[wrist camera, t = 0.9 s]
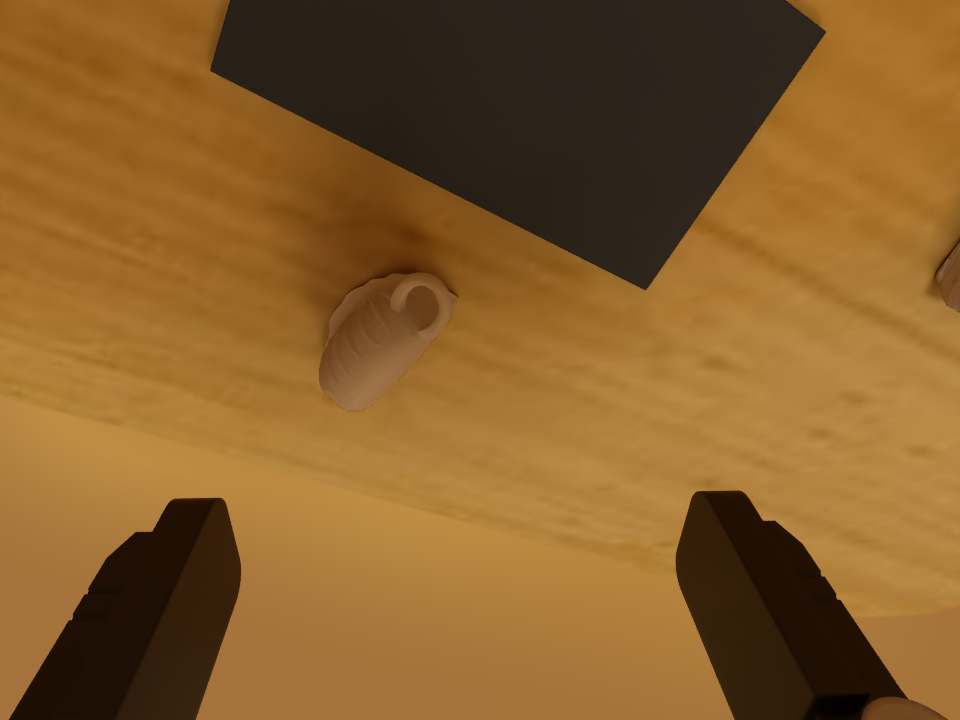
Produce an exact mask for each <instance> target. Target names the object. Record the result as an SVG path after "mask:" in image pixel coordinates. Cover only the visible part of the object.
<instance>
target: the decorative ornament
mask: <svg viewBox="0 0 960 720" xmlns="http://www.w3.org/2000/svg"><path fill="white" fill-rule="evenodd" d="M457 300H458V297H457V296H456V295H454V294H453V293H451V292H449V291H448V289H447V287H446V286H445V285H444V283H443V282H442V281H441V280H440V279H438V278H437V277H436V276H433V275H431V274H429V273H424V272H417V273H410V274H397V273H394V274H391V275H389V276H387V277H385V278H383V279H371V280H370V281H369V282H368V283H366V284H365V285H364V286H362V287H359V288H356V289H353V290H352V291H351V292H349V293H348V294H346V296H345V298H344V300H343V301H342V303H341V304H340V305H339V307H338V308H337V309H336V310H335V311H334V313H333V314H332V316H331V318H330V321H329V324H328V327H329V337H328V339H327V341H326V343H325V344H324V348H325V350H324V352H323V355H322V358H321V363H320V368H319V382H320V385H321V388H322V390H323V391H324V392H325V393H326V394H327V395H328V396H329V397H330V398H331V399H332V400H333V402H334V403H335V404H337V405H338V406H339V407H340V408H342V409H344V410H347V411H351V412H357V411H361V410H363V409H366V408H367V407H369V406H371V405H372V404H374V403H375V402H376V401H377V400H378V399H379V398H380V397H382V396H383V395H384V394H385V393H386V392H387V391H388V390H389V389H390V388H391V387H392V386H393V385H394V384H395V383H396V382H397V381H398V380H399V379H400V378H401V377H402V376H403V375H404V374H405V372H406V371H407V370H408V369H409V368H410V367H411V366H412V365H413V364H414V363H415V362H416V361H417V360H418V359H419V357H420V356H421V355H422V354H423V353H424V352H425V351H426V349H427V348H428V347H429V346H430V345H431V343H432V342H433V341H434V340H435V338H436V337H437V336H438V334H439V333H440V332H441V331H442V330H444V328H445V327H446V326H447V324H448V323H449V321H450V318H451V314H452V309H453V308H454V306H455V304H456V302H457Z"/></svg>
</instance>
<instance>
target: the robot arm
mask: <svg viewBox="0 0 960 720" xmlns="http://www.w3.org/2000/svg"><path fill="white" fill-rule="evenodd" d="M676 572H677V578H678V582H679V586H680V589H681V591H682V594H683V596H684V598H685V601H686V603H687V606H688V608H689V610H690V613H691V615H692V618H693V620H694V622H695V625H696V627H697V630H698V632H699V635H700V637H701V639H702V642H703V644H704V647H705V649H706V651H707V654H708V656H709V659H710V661H711V664H712V666H713V668H714V671H715V673H716V676H717V678H718V681H719V683H720V685H721V688H722V690H723V693H724V695H725V697H726V700H727V702H728V705H729V707H730V709H731V712H732V714H733V717H734V719H735V720H948V719H946V718H945V717H943V716H942V715H940V714H939V713H937V712H936V711H934V710H932V709H930V708H929V707H927V706H925V705H922V704H920V703H918V702H915V701H912V700H909V699H908V698H907V697H906V696H905V694H904V693H903V692H902V691H901V689H900V688H899V686H898V685H897V684H896V682H895V680H894V679H893V677H892V676H891V674H890V673H889V671H888V670H887V668H886V667H885V665H884V664H883V662H882V661H881V659H880V658H879V656H878V655H877V654H876V652H875V651H874V649H873V648H872V646H871V645H870V643H869V642H868V640H867V639H866V637H865V636H864V635H863V633H862V631H861V630H860V629H859V627H858V625H857V624H856V622H855V621H854V619H853V618H852V617H851V615H850V614H849V612H848V611H847V609H846V608H845V606H844V605H843V603H842V602H841V600H837V598H836V593H835V591H834V590H833V588H832V587H831V585H830V584H829V582H828V581H827V579H826V578H825V577H822V576H821V571H820V569H819V568H818V566H817V565H816V563H815V562H814V560H813V559H812V557H811V556H810V554H809V553H808V551H807V550H806V548H805V547H804V545H803V544H802V543H801V542H800V541H798V540H797V539H796V538H795V537H794V536H793V535H791V534H790V533H789V532H788V531H787V530H785V529H784V528H783V527H782V526H781V525H779V524H778V523H777V522H776V521H763V520H762V518H761V517H760V515H759V514H758V512H757V510H756V509H755V507H754V506H753V504H752V503H751V501H750V499H749V498H748V497H747V495H746V494H745V493H743V492H742V491H697V492H695V494H694V495H693V497H692V499H691V502H690V506H689V509H688V513H687V516H686V520H685V523H684V527H683V530H682V534H681V537H680V541H679V544H678V548H677V552H676ZM240 581H241V563H240V557H239V553H238V550H237V546H236V542H235V537H234V533H233V530H232V525H231V521H230V517H229V513H228V509H227V506H226V503H225V501H224V500H223V499H222V498H185V499H184V498H182V499H173V500H171V501H170V502H169V503H168V505H167V506H166V508H165V510H164V511H163V513H162V515H161V517H160V519H159V521H158V522H157V524H156V526H155V528H154V530H153V531H152V532H135V533H134V534H133V535H132V536H131V537H130V538H129V539H128V540H126V541H125V542H124V543H123V544H122V545H121V546H120V547H119V548H117V549H116V550H115V551H114V552H113V553H112V554H111V555H110V556H108V557H107V559H106V560H105V562H104V563H103V565H102V567H101V569H100V570H99V572H98V573H97V575H96V577H95V578H94V580H93V581H92V583H91V585H90V586H89V588H88V589H89V591H88V594H85V595H84V597H83V598H82V600H81V601H80V603H79V605H78V606H77V608H76V610H75V611H74V613H73V619H72V620H70V621H68V623H67V624H66V626H65V628H64V630H63V631H62V633H61V634H60V636H59V638H58V639H57V641H56V643H55V644H54V646H53V648H52V649H51V651H50V652H49V654H48V656H47V657H46V659H45V661H44V662H43V664H42V666H41V667H40V669H39V671H38V673H37V674H36V676H35V678H34V679H33V681H32V682H31V684H30V686H29V687H28V689H27V690H26V692H25V694H24V695H23V697H22V699H21V700H20V702H19V704H18V705H17V707H16V709H15V711H14V712H13V714H12V715H11V717H10V719H9V720H196V717H197V714H198V711H199V708H200V705H201V702H202V699H203V696H204V694H205V690H206V688H207V685H208V682H209V679H210V676H211V673H212V670H213V667H214V664H215V661H216V659H217V656H218V653H219V650H220V647H221V644H222V641H223V638H224V635H225V632H226V629H227V627H228V624H229V620H230V617H231V615H232V612H233V609H234V606H235V603H236V600H237V597H238V593H239V588H240Z"/></svg>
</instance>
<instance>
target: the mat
mask: <svg viewBox="0 0 960 720" xmlns="http://www.w3.org/2000/svg"><path fill="white" fill-rule="evenodd" d="M825 33H826V31H825V30H823V29H822V28H821V27H819V26H818V25H817V24H816V23H814V22H813V21H812V20H810V19H809V18H808V17H806V16H805V15H804V14H802V13H801V12H800V11H799V10H797V9H796V8H795V7H793V6H792V5H791V4H789V3H788V2H787V1H785V0H230V3H229V7H228V10H227V14H226V17H225V21H224V24H223V27H222V31H221V34H220V38H219V41H218V45H217V48H216V52H215V55H214V58H213V62H212V65H211V69H210V71H211V72H213V73H215V74H217V75H219V76H221V77H223V78H225V79H227V80H229V81H231V82H233V83H235V84H237V85H239V86H241V87H243V88H245V89H247V90H249V91H251V92H253V93H255V94H257V95H259V96H261V97H263V98H265V99H267V100H269V101H271V102H273V103H275V104H277V105H279V106H281V107H283V108H285V109H287V110H289V111H291V112H293V113H295V114H297V115H299V116H301V117H303V118H305V119H307V120H309V121H311V122H313V123H315V124H317V125H319V126H320V127H322V128H324V129H326V130H328V131H330V132H332V133H334V134H336V135H338V136H340V137H342V138H344V139H346V140H348V141H350V142H352V143H354V144H356V145H358V146H360V147H362V148H364V149H366V150H368V151H370V152H372V153H374V154H376V155H378V156H380V157H382V158H384V159H386V160H388V161H390V162H392V163H394V164H396V165H398V166H400V167H402V168H404V169H406V170H408V171H410V172H412V173H414V174H416V175H418V176H420V177H422V178H424V179H426V180H428V181H430V182H432V183H434V184H436V185H438V186H439V187H441V188H443V189H445V190H447V191H449V192H451V193H453V194H455V195H457V196H459V197H461V198H463V199H465V200H467V201H469V202H471V203H473V204H475V205H477V206H479V207H481V208H483V209H485V210H487V211H489V212H491V213H493V214H495V215H497V216H499V217H501V218H503V219H505V220H507V221H509V222H511V223H513V224H515V225H517V226H519V227H521V228H523V229H525V230H527V231H529V232H531V233H533V234H535V235H537V236H539V237H541V238H543V239H545V240H547V241H549V242H551V243H553V244H555V245H557V246H558V247H560V248H562V249H564V250H566V251H568V252H570V253H572V254H574V255H576V256H578V257H580V258H582V259H584V260H586V261H588V262H590V263H592V264H594V265H596V266H598V267H600V268H602V269H604V270H606V271H608V272H610V273H612V274H614V275H616V276H618V277H620V278H622V279H624V280H626V281H628V282H630V283H632V284H634V285H636V286H638V287H640V288H642V289H644V290H647V288H648V287H649V285H650V284H651V282H652V281H653V280H654V278H655V277H656V275H657V274H658V272H659V271H660V270H661V268H662V267H663V265H664V264H665V262H666V261H667V260H668V258H669V257H670V255H671V254H672V252H673V251H674V249H675V248H676V247H677V245H678V244H679V242H680V241H681V239H682V238H683V237H684V235H685V234H686V232H687V231H688V229H689V228H690V227H691V225H692V224H693V222H694V221H695V219H696V218H697V217H698V215H699V214H700V212H701V211H702V209H703V208H704V206H705V205H706V204H707V202H708V201H709V199H710V198H711V196H712V195H713V194H714V192H715V191H716V189H717V188H718V186H719V185H720V184H721V182H722V181H723V179H724V178H725V176H726V175H727V174H728V172H729V171H730V169H731V168H732V166H733V165H734V164H735V162H736V161H737V159H738V158H739V156H740V155H741V153H742V152H743V151H744V149H745V148H746V146H747V145H748V143H749V142H750V141H751V139H752V138H753V136H754V135H755V133H756V132H757V131H758V129H759V128H760V126H761V125H762V123H763V122H764V121H765V119H766V118H767V116H768V115H769V113H770V112H771V111H772V109H773V108H774V106H775V105H776V103H777V102H778V100H779V99H780V98H781V96H782V95H783V93H784V92H785V90H786V89H787V88H788V86H789V85H790V83H791V82H792V80H793V79H794V78H795V76H796V75H797V73H798V72H799V70H800V69H801V68H802V66H803V65H804V63H805V62H806V60H807V59H808V57H809V56H810V55H811V53H812V52H813V50H814V49H815V47H816V46H817V45H818V43H819V42H820V40H821V39H822V37H823V36H824V35H825Z"/></svg>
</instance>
